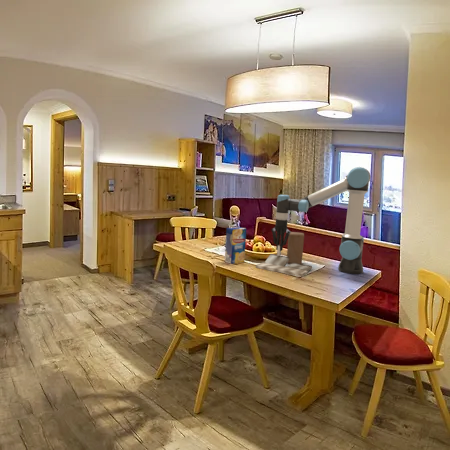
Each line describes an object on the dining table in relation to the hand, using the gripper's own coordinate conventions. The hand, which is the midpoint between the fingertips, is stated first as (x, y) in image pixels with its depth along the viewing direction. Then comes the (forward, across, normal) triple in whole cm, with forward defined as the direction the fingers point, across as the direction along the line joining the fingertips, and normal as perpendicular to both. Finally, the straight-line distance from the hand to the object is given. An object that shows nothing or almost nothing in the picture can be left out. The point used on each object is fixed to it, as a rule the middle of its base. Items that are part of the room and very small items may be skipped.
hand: (278, 255), depth 258 cm
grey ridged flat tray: (+6, -8, +13) cm, 16 cm away
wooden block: (+7, -6, -13) cm, 16 cm away
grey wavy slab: (+6, -15, +2) cm, 16 cm away
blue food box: (+7, +25, +14) cm, 29 cm away
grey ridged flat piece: (+4, 0, +2) cm, 5 cm away
